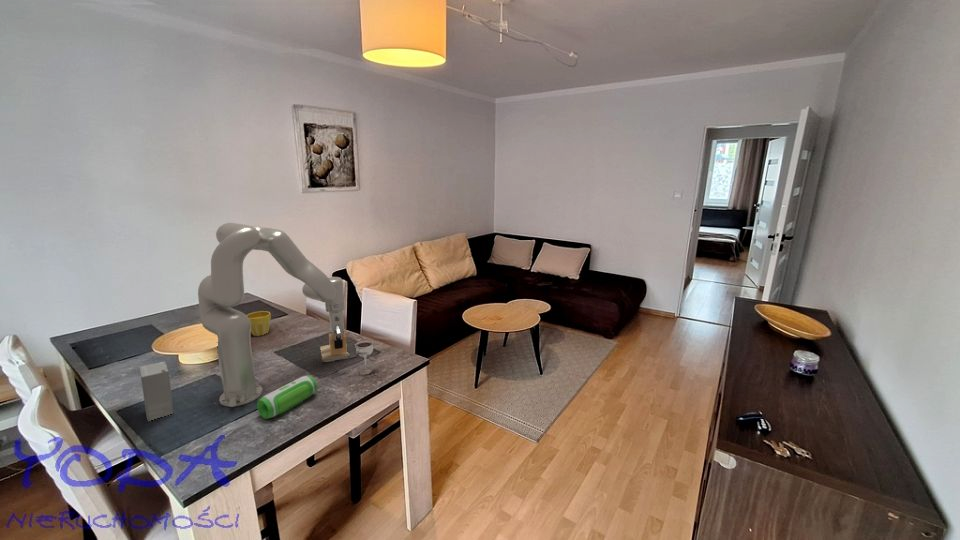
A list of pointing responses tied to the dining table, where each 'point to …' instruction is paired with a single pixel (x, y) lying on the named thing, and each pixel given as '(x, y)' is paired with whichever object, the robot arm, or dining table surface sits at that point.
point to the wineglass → (364, 349)
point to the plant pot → (259, 322)
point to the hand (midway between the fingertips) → (337, 343)
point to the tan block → (332, 345)
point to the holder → (327, 353)
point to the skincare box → (156, 390)
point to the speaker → (286, 397)
